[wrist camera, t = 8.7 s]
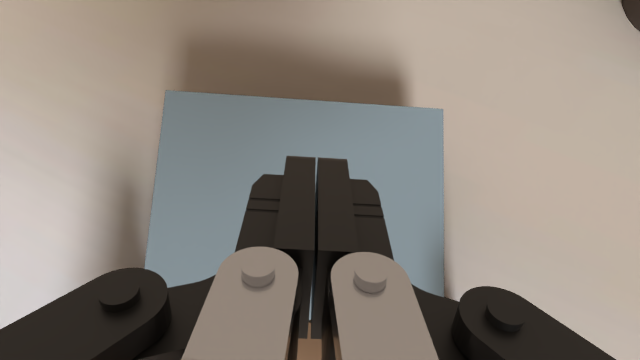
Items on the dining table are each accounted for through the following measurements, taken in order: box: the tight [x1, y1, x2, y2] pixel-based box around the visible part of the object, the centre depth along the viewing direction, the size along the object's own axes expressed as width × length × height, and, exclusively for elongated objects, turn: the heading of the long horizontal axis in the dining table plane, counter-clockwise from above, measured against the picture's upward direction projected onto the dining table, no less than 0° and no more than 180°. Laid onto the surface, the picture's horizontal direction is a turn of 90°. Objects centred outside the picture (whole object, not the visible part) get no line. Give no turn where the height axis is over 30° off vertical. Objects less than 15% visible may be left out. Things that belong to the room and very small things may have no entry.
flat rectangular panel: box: [144, 90, 444, 320], centre depth 20 cm, size 2×13×10 cm
